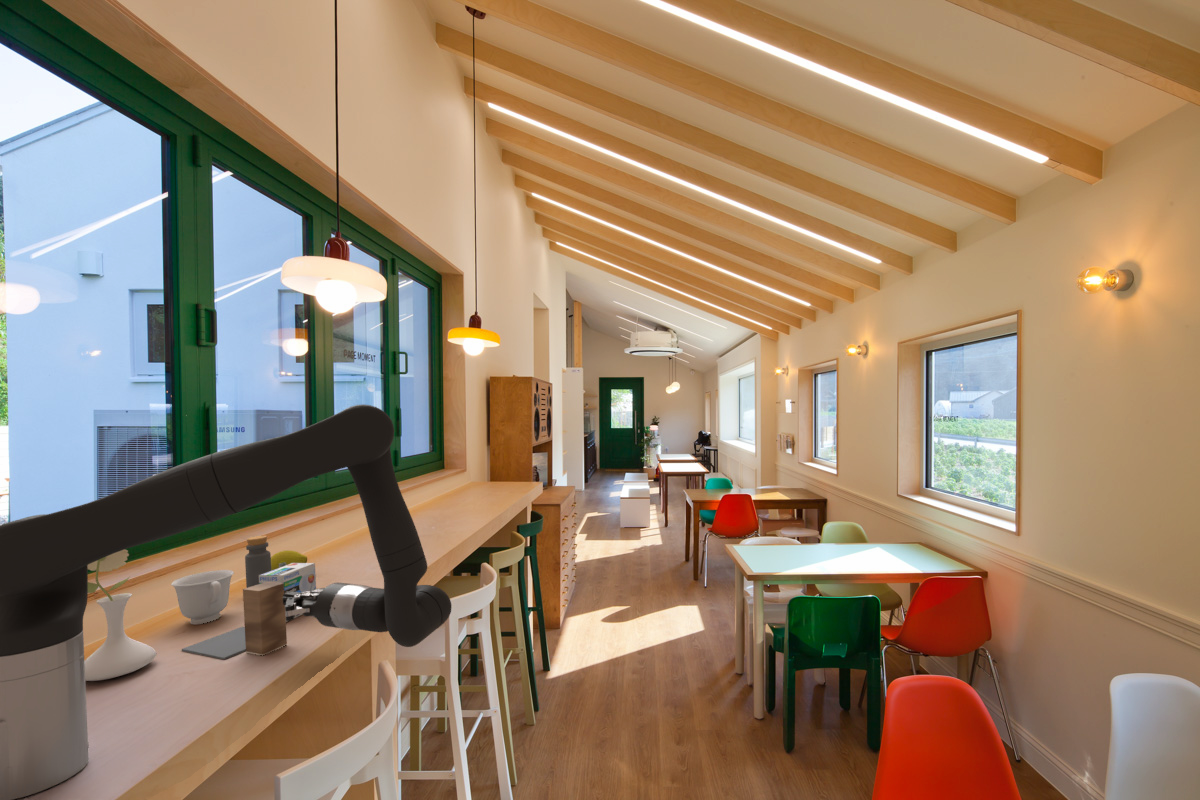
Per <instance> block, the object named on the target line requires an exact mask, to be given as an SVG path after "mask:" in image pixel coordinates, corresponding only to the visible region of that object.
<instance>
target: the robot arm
mask: <svg viewBox="0 0 1200 800" xmlns="http://www.w3.org/2000/svg"><path fill="white" fill-rule="evenodd" d="M394 437H395V427H394V423H393V421H392V419H391V418H390V416H389V415H388V414H387V412H385V411H383V410H382V409H381V408H379V407H377V406H374V405H371V404H364V403H363V404H355V405H352V406H349V407H346V408H345V409H343V410H341V411H340V412H337V413H335V414H334V415H331V416H329V417H327V418H325V419H323V420H320V421H318V422H316V423H313V424H311V425H308V426H307V427H303V428H301V429H299V430H296V431H293V432H290V433H287V434H284V435H280V436H277V437H272V438H268V439H263V440H257V441H253V442H249V443H246V444H242V445H237V446H234V447H230V448H227V449H223V450H220V451H216V452H214V453H210V454H208V455H204V456H202V457H199V458H196V459H193V460H189V461H186V462H184V463H181V464H179V465H176V466H174V467H171V468H169V469H166V470H164V471H160V472H159V473H156V474H153V475H152V476H151V475H150V476H149V477H147V478H144V479H142V480H140V481H138V482H137V481H136V482H135V483H132V484H130V485H129V486H126V487H124V488H122V489H119V490H117V491H115V492H113V493H111V494H108V495H106V496H104V497H102V498H98V499H96V500H92V501H90V502H87V503H83V504H80V505H77V506H74V507H70V508H65V509H62V510H58V511H55V512H51V513H47V514H45V513H44V514H36V515H30V516H27V517H23V518H19V519H16V520H12V521H9V522H5V523H2V524H0V800H16V799H20V798H24V797H27V796H30V795H34V794H38V793H40V792H42V791H45V790H48V789H49V788H51V787H54V786H56V785H59V784H60V783H62V782H64V781H66V780H68V779H70V778H72V777H73V776H75V775H76V774H77V773H79V772H80V771H81V770H83V769H84V768H85V766H87V764H88V763H89V759H90V758H89V748H90V747H89V746H90V744H89V734H88V712H87V711H88V710H87V689H86V687H87V686H86V681H85V662H84V661H85V643H84V642H85V641H84V639H85V638H84V615H85V612H86V609H87V604H88V596H89V593H88V581H89V578H88V574H89V573H88V570H89V569H88V564H90V563H93V562H95V561H97V560H99V559H102V558H104V557H106V556H109V555H111V554H114V553H116V552H119V551H122V550H124V549H125V550H127V549H129V548H133V547H137V546H141V545H143V544H149V543H151V542H154V541H157V540H162V539H165V538H168V537H171V536H175V535H177V534H181V533H183V532H187V531H190V530H194V529H195V528H199V527H202V526H205V525H207V524H211V523H213V522H216V521H219V520H221V519H223V518H226V517H229V516H231V515H234V514H237V513H239V512H242V511H244V510H248V509H249V508H251V507H254V506H256V505H258V504H260V503H262V502H265V501H267V500H269V499H271V498H273V497H275V496H278V495H279V494H281V493H283V492H285V491H287V490H289V489H290V488H292V487H294V486H297V485H299V484H302V483H303V482H305V481H307V480H311V479H313V478H315V477H319V476H321V475H324V474H327V473H328V474H329V473H331V472H335V471H338V470H342V469H345V468H347V470H348V472H349V473H350V475H351V478H352V479H353V482H354V484H355V487H356V489H357V492H358V496H359V498H360V502H361V506H362V508H363V511H364V516H365V520H366V523H367V524H366V525H367V526H368V527H367V528H368V532H369V536H370V539H371V542H372V546H373V551H374V553H375V556H376V559H377V562H378V565H379V569H380V571H381V574H382V578H383V588H379V587H372V586H369V585H364V584H356V583H346V582H333V583H331V584H329V585H327V586H326V587H321V588H316V589H314V590H313V591H311V592H310V591H305V592H303V593H300V592H288V593H285V594H283V605H285V612H286V621H288V622H291V621H293V620H294V619H295V618H294V617H296V618H298V617H297V615H298V614H302V615H303V616H304V617H312V618H315V619H316V620H317V621H318V623H319V624H321V625H322V626H324V627H330V628H335V629H342V630H350V631H365V632H373V633H386V632H388V633H389V636H391V638H392V640H393V641H394V642H395V643H396V644H398V645H399V646H402V647H405V648H412V647H415V646H417V645H419V644H420V643H421V642H423V641H424V640H425V639H426V638H427V637H428V636H430V635H431V634H433V633H434V632H435V631H436V630H437V629H439V628H440V627H441V626H442V625H444V624H445V623H446V621H447V620H448V619H449V618H450V615H451V613H452V601H451V599H450V597H449V595H448V593H446V591H444V590H443V589H442V588H439V587H437V586H435V585H431V584H418V583H419V582H420V580H421V579H423V577H424V576H425V574H426V573H427V571H428V562H427V558H426V555H425V552H424V549H423V546H422V542H421V539H420V536H419V533H418V530H417V528H416V525H415V522H414V520H413V517H412V515H411V513H410V510H409V508H408V506H407V504H406V502H405V499H404V497H403V494H402V491H401V489H400V487H399V482H398V479H397V477H396V473H395V470H394V464H393V460H392V453H391V447H392V445H393V441H394Z"/></svg>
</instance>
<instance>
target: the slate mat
mask: <svg viewBox="0 0 1200 800" xmlns="http://www.w3.org/2000/svg"><path fill="white" fill-rule="evenodd" d="M181 652H183V653H184V652H185V653H188V654H193V655H200V656H205V657H209V658H213V659H219V660H224V661H225V660H227V659H229V658H232V657H235V656H237V655H239V654H242V653H246V642H245V626H241V627H240V626H239V627H237V628H235V629H232V630H229V631H226V632H224V633H221V634H219V635H216V636H213V637H211V638H207V639H205V640H202V641H200V642H196V643H194V644H192V645H189V646H186V647H183V648H181Z"/></svg>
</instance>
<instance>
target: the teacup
mask: <svg viewBox="0 0 1200 800" xmlns="http://www.w3.org/2000/svg"><path fill="white" fill-rule="evenodd" d="M234 574H235V572H234V571H233V570H231V569H218V570H210V571H204V572H198V573H194V574H190V575H189V574H188V575H186V576H182V577H179V578H177V579H175V580H173V581H172V582H171V584H170V585H171V586H172V587H173V588H174V589H175V594H176V597H177V602H178V607H179V610H180V613H181V615H182V616H184V617H185V618H188V619H190V622H189V623H190V624H191V625H203V623H204V624H208V623H211V622H214V621H216V619H217V620H219V619H220V618H221V615H220V613H221V612H222V611H223V610H224V609H226V607H227V606H228V603H229V599H230V588H231V579H232V576H233V575H234ZM219 617H220V618H219ZM213 620H214V621H213ZM210 621H211V622H210ZM207 622H208V623H207Z"/></svg>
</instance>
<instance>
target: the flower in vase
mask: <svg viewBox="0 0 1200 800" xmlns="http://www.w3.org/2000/svg"><path fill="white" fill-rule="evenodd" d="M129 556H130V554H129V550H127V549H124V550H122V551H119V552H116V553H114V554H111V555H109V556H106V557H104V558H102V559H99V560H97V561H95V562H93V563H90V564H88V570H89V571H92V572H94V571H95V582H96V583H95V582H90V581H89V582H88V594H93V593H95V592H96V591H97V589H98V588H99V589H100V590H101V591H102V592H103V593H104V594H105V595H106V596H105V597H102V598H99V599H97V600H96V603H97V604H98V605H99V606H100V607H101V609H102V610H103V612H104V615H105V618H106V624H107V636H106V639H105V640H104V642H103V643H102V644H101V645H100V646H99V647H98V648H97V649H96V650H95V651H93V653H91V655H89V656H88V657H87V658H86V659H84V662H85V682H87V681H89V682H95V681H104V680H110V679H113V678H116V677H117V678H118V677H120V676H125V675H127V674H131V673H133V672H136V671H137V670H140V669H142V668H143V667H145V666H147V665H148V664H150V663H152V661H154V659H155V658H156V656H157V652H156V650H155V648H154V647H152V646H150V645H149V644H146V643H144V642H141V641H138V640H135V639H133V638H130V637H129V636H128V635H127V634H126V632H125V627H124V615H125V610H126V606H127V603H128V601H129V599H130V598H131V597H132V595H133V594H132V593H129V592H128V593H119V594H114V595H110V593H109V592H111V591H114V590H115V589H118V588H119V587H122V586H123V585H124V584H125V583H126V582H127V581H128V580H129V578H130V577H131V576H128V577H127V578H125V579H123V580H121V581H118V582H117V583H115V584H114V585H113V586H112V587H110V588H109V589H108V591H107V590H106V589H105V588H104V587H103V586H102V585H101V584H100V581H99V572H100V573H104V572H112V571H113V570H117V569H120V567H123V566H125V565H126V564H127V562H126V561H128V557H129Z"/></svg>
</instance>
